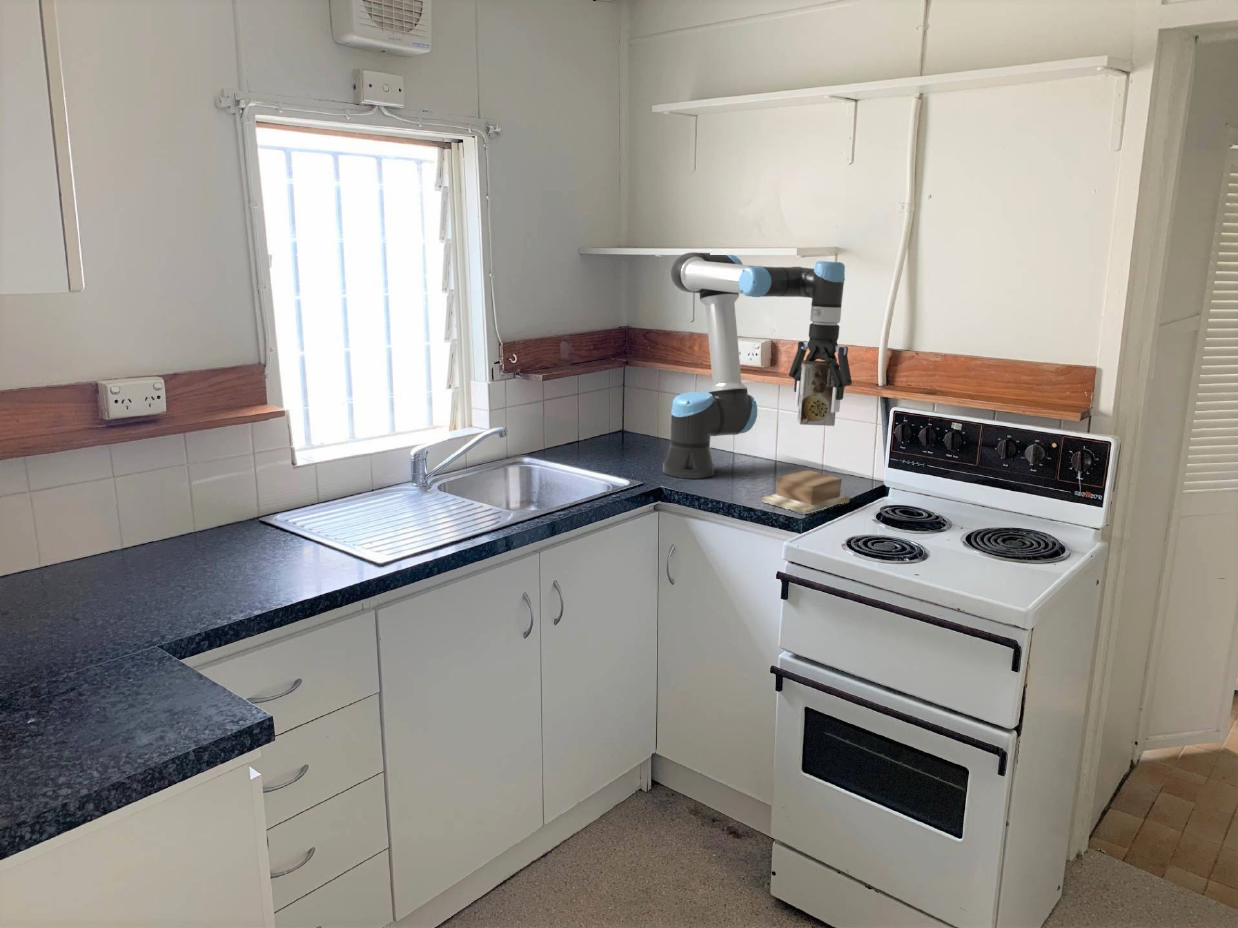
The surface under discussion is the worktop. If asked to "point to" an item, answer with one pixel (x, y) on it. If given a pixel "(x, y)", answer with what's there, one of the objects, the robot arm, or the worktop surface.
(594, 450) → the worktop surface
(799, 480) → the base block
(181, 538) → the worktop surface
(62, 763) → the worktop surface
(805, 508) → the board
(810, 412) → the cookie box
